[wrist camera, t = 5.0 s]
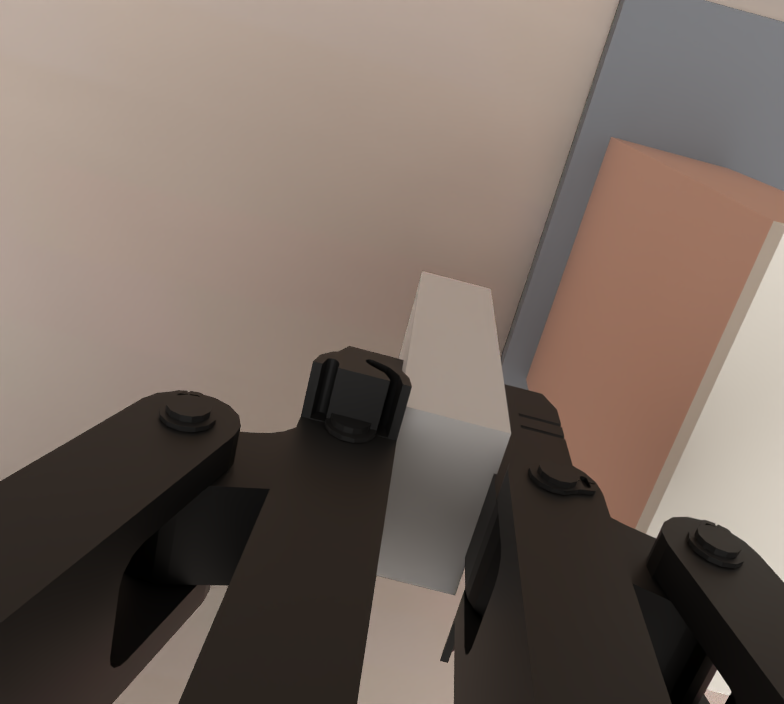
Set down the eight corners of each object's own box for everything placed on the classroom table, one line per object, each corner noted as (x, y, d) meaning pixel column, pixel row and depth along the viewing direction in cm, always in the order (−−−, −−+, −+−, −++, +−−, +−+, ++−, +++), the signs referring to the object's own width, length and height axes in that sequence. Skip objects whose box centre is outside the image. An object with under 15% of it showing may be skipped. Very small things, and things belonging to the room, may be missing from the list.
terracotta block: (525, 379, 28) (588, 659, 15) (611, 136, 25) (785, 227, 12) (629, 406, 28) (779, 708, 15) (728, 168, 25) (1031, 293, 12)
